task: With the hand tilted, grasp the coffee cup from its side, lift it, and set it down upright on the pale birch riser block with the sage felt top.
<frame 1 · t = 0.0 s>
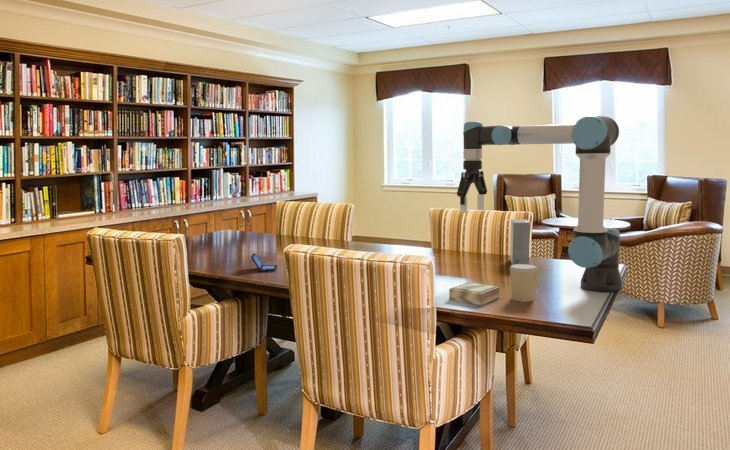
hand: (472, 211, 247), 28 cm above the table, tool pointing down, fingers open, 13 cm apart
birch riser: (474, 298, 215), on the table
handheld game console: (264, 270, 274), on the table
coffee cup: (522, 299, 213), on the table
hard drive box: (519, 263, 281), on the table
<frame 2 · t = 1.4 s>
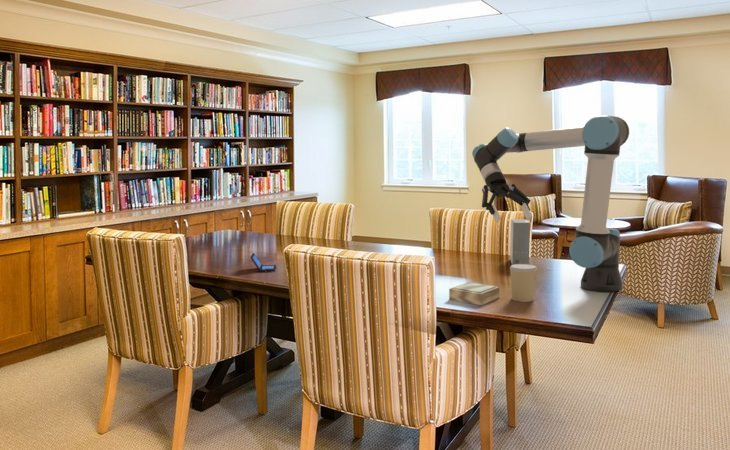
hand: (514, 219, 222), 27 cm above the table, tool tilted 45°, fingers open, 13 cm apart
nothing on the table moved.
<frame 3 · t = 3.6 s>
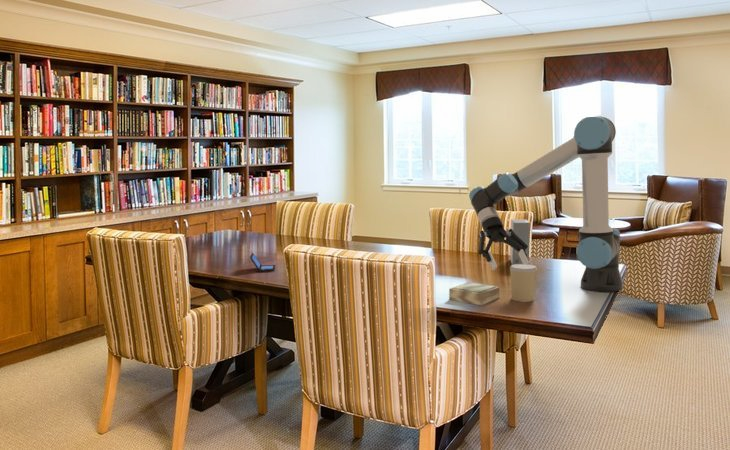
hand: (511, 267, 218), 11 cm above the table, tool tilted 45°, fingers open, 13 cm apart
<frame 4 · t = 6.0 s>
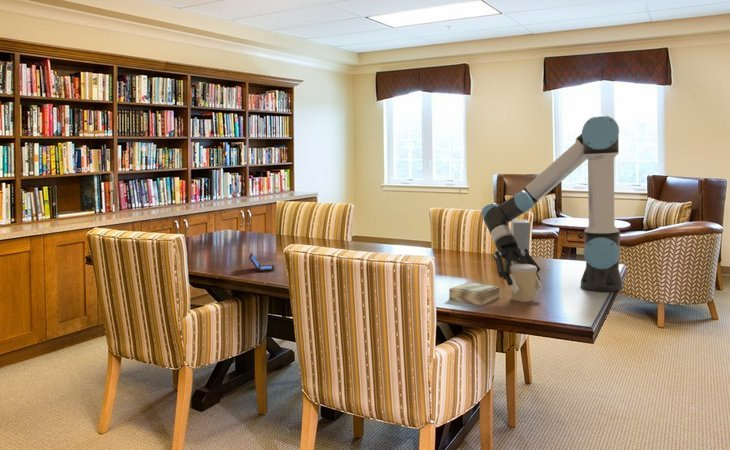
hand: (528, 290, 210), 4 cm above the table, tool tilted 45°, fingers closed on coffee cup, 9 cm apart
coffee cup: (522, 299, 213), on the table, touching gripper
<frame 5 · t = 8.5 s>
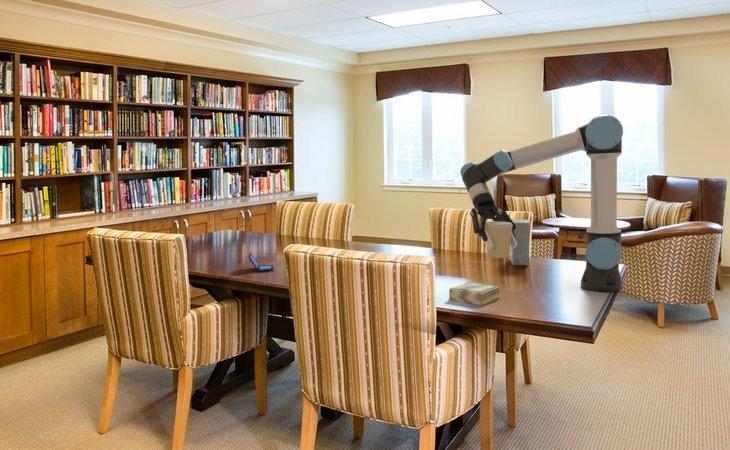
hand: (503, 247, 209), 19 cm above the table, tool tilted 45°, fingers closed on coffee cup, 9 cm apart
coffee cup: (498, 256, 213), point 15 cm above the table, touching gripper
when the fingers open (9 cm above the table, at t = 11.1 s): coffee cup drops 1 cm, resting on birch riser.
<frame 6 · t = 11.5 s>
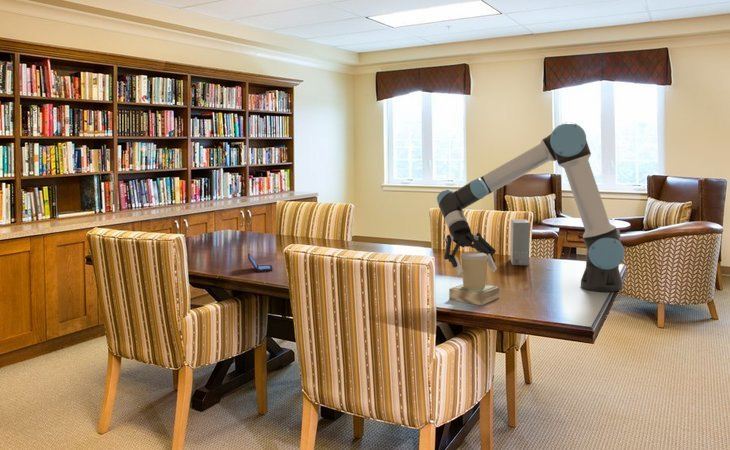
hand: (477, 272, 211), 10 cm above the table, tool tilted 45°, fingers open, 13 cm apart
coffee cup: (474, 287, 214), point 4 cm above the table, touching birch riser
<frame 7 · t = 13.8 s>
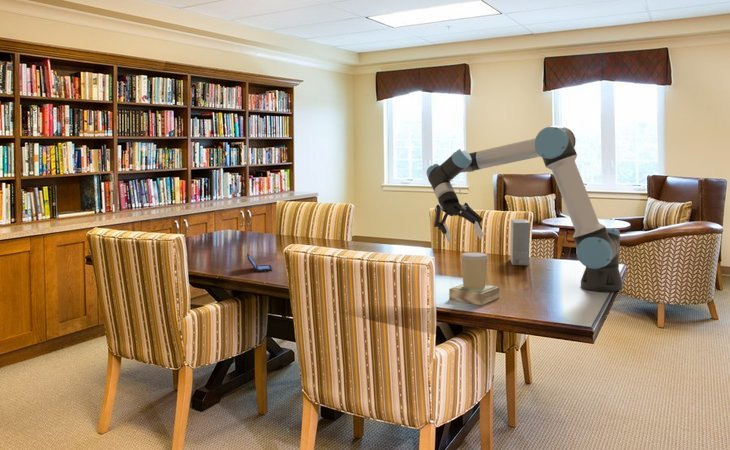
hand: (465, 238, 225), 20 cm above the table, tool tilted 45°, fingers open, 13 cm apart
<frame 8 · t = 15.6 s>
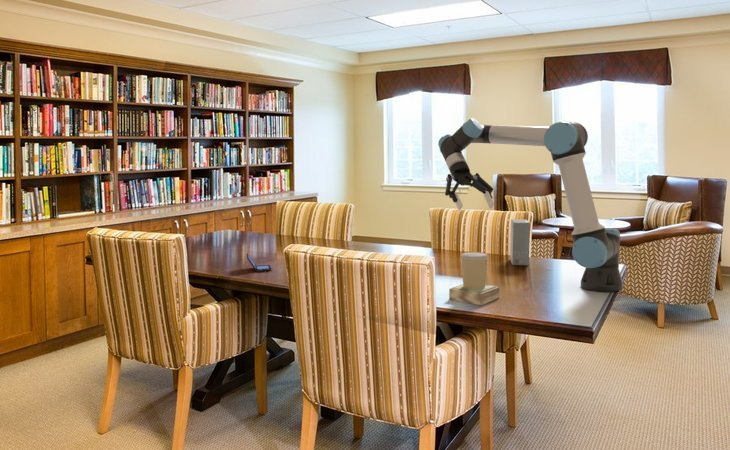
hand: (476, 207, 227), 32 cm above the table, tool tilted 45°, fingers open, 13 cm apart
at the end: coffee cup 0.1 cm from the birch riser (horizontally); coffee cup point 4.1 cm above the table; coffee cup tilted 0° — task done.
